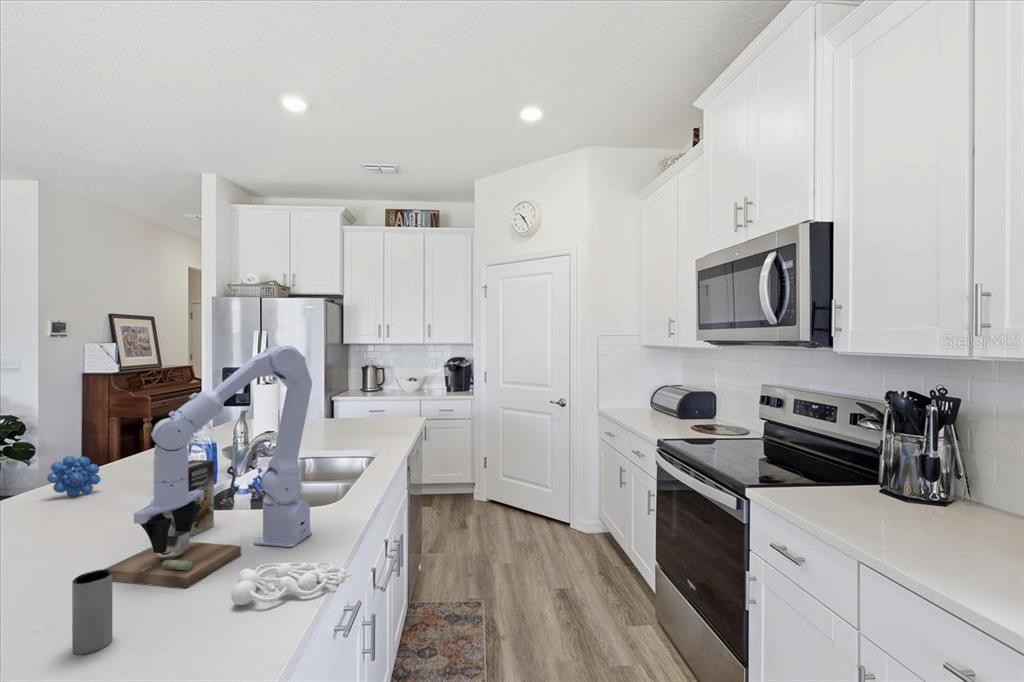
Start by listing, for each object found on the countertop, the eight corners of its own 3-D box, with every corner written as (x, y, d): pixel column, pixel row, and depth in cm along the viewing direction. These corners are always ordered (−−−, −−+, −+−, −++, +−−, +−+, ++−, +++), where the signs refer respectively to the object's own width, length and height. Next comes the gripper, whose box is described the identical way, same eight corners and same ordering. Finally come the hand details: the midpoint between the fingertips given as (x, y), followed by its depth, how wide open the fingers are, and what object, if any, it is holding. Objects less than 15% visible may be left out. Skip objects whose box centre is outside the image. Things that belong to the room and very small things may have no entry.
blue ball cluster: (49, 504, 135) (49, 461, 135) (45, 499, 140) (45, 457, 140) (103, 494, 144) (103, 453, 144) (98, 490, 149) (98, 450, 148)
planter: (65, 650, 72) (65, 580, 72) (100, 633, 76) (100, 567, 76) (84, 658, 70) (84, 586, 70) (119, 639, 75) (119, 572, 75)
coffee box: (183, 541, 111) (183, 469, 111) (159, 538, 112) (159, 468, 112) (215, 526, 120) (215, 460, 120) (192, 524, 121) (192, 458, 121)
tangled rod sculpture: (348, 568, 101) (349, 547, 102) (351, 596, 88) (352, 572, 88) (242, 581, 95) (243, 559, 95) (227, 614, 81) (228, 588, 81)
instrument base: (240, 555, 104) (240, 538, 104) (186, 588, 90) (186, 568, 90) (166, 549, 107) (166, 532, 107) (103, 580, 93) (103, 561, 93)
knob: (193, 551, 100) (193, 528, 100) (175, 561, 96) (175, 536, 96) (167, 549, 101) (167, 526, 101) (148, 558, 97) (148, 534, 97)
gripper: (183, 468, 106) (183, 531, 106) (119, 488, 92) (119, 561, 92) (212, 470, 105) (212, 533, 105) (152, 490, 91) (152, 564, 91)
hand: (171, 546), depth 99 cm, fingers open, 5 cm apart
